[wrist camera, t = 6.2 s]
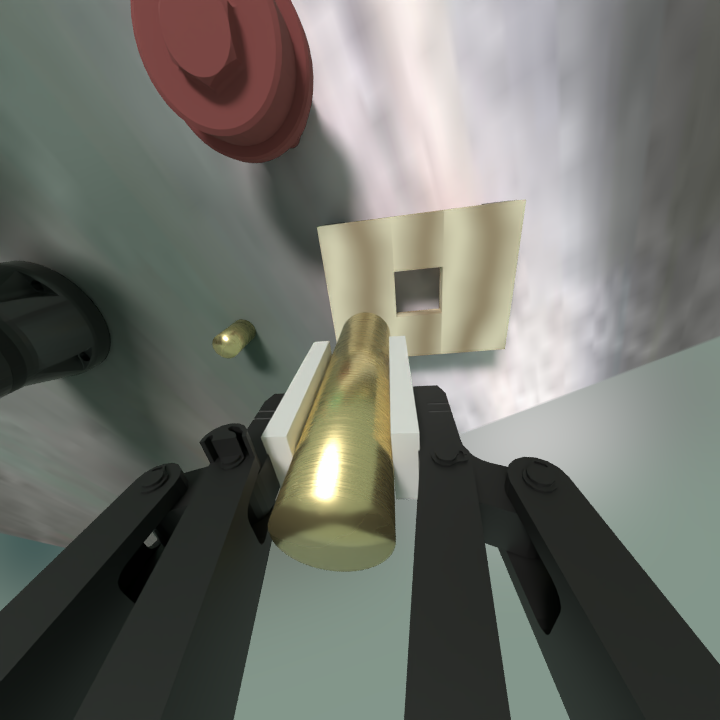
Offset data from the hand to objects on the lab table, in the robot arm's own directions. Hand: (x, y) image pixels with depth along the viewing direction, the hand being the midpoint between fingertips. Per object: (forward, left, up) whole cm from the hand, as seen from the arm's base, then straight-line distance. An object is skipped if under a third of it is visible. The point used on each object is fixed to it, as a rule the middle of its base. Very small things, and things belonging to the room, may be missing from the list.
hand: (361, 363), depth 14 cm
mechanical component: (-7, +16, -21) cm, 27 cm away
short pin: (-17, -5, -20) cm, 27 cm away
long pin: (0, 0, -4) cm, 4 cm away
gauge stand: (+5, -1, -20) cm, 21 cm away
